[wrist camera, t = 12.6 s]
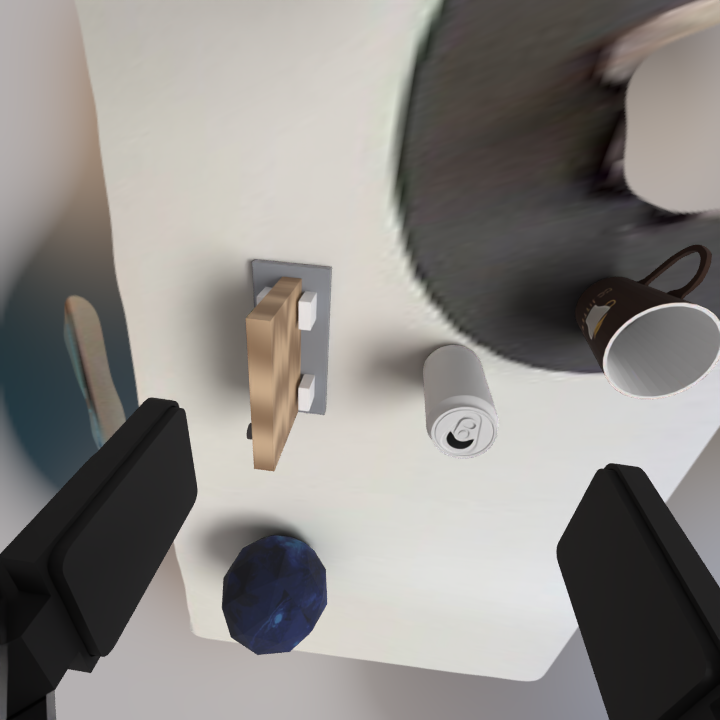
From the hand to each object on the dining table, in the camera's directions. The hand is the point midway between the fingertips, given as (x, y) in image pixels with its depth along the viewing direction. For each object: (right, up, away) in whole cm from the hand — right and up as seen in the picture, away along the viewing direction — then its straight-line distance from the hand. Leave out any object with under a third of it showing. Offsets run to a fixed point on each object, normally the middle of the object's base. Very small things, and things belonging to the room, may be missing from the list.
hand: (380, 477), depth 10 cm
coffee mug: (+25, +9, +32) cm, 41 cm away
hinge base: (-8, +5, +38) cm, 39 cm away
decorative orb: (-12, -26, +55) cm, 62 cm away
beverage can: (+10, +2, +37) cm, 39 cm away
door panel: (-8, +4, +37) cm, 38 cm away
